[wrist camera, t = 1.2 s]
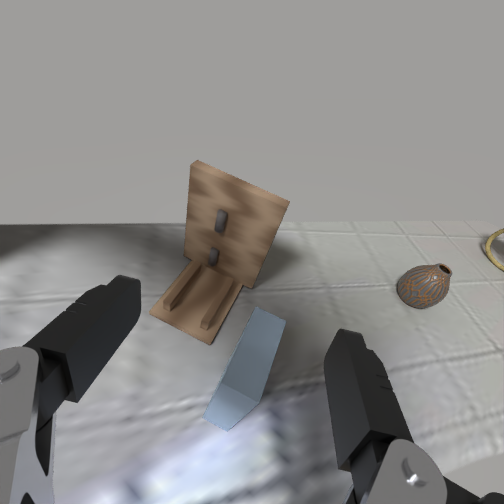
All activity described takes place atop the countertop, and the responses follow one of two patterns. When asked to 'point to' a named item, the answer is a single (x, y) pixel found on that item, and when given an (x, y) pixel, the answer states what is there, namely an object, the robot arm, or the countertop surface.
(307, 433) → the countertop surface
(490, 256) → the wall sconce
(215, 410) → the light blue rectangular block
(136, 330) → the countertop surface
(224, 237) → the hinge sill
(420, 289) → the vase
